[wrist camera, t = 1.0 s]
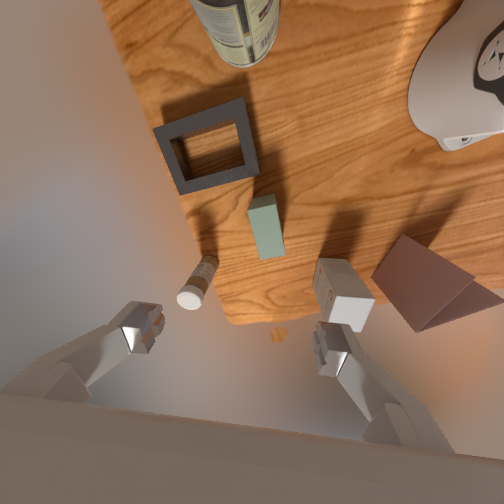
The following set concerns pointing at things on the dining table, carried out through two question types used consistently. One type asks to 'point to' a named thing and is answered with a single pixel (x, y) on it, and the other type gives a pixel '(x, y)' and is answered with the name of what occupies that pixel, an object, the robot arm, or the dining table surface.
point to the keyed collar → (201, 124)
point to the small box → (341, 293)
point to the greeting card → (429, 286)
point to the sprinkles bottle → (198, 283)
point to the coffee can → (240, 28)
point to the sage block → (266, 226)
